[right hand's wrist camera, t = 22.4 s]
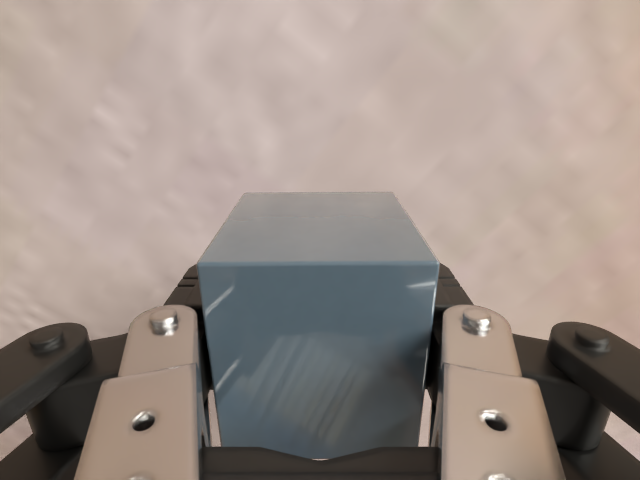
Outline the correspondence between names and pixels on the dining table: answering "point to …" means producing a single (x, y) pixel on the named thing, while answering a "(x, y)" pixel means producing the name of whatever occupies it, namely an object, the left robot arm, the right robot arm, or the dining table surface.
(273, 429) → the block
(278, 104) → the dining table surface
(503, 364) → the right robot arm
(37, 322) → the dining table surface
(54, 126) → the dining table surface
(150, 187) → the dining table surface
